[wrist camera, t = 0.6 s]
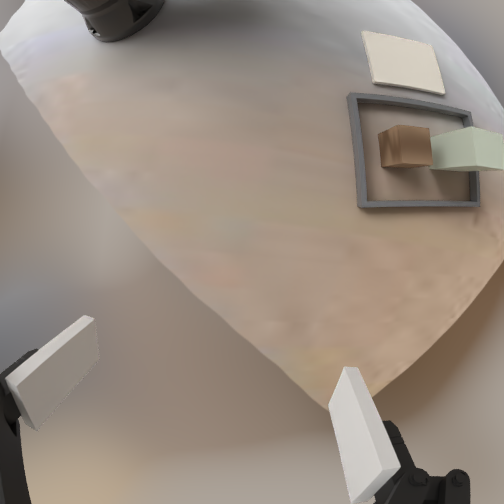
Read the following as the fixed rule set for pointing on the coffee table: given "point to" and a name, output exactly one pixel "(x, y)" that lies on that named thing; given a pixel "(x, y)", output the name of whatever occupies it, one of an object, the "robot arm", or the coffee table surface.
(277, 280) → the coffee table surface
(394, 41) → the tile
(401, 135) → the walnut block
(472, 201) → the grey rectangular frame
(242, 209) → the coffee table surface
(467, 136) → the sage box
